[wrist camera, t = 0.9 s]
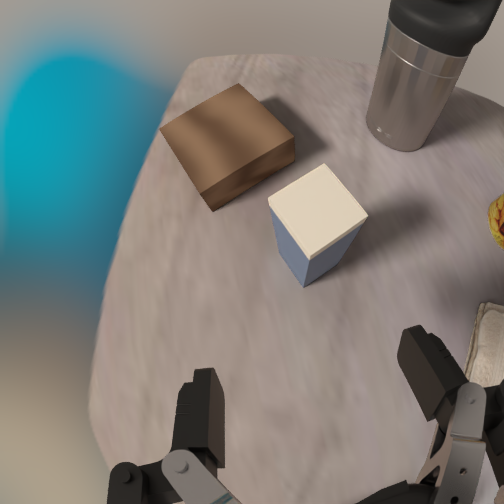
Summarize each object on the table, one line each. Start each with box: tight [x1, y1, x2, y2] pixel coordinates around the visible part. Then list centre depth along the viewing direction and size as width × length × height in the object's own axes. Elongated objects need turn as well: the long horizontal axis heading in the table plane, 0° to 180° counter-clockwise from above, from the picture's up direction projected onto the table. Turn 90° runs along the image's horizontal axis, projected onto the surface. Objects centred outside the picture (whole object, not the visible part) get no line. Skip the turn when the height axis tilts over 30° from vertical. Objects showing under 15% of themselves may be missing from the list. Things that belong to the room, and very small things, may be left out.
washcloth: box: [463, 302, 504, 387], centre depth 22 cm, size 12×18×3 cm, turn 166°
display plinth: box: [159, 83, 295, 212], centre depth 34 cm, size 12×12×5 cm
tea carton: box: [268, 164, 368, 288], centre depth 24 cm, size 5×5×14 cm
